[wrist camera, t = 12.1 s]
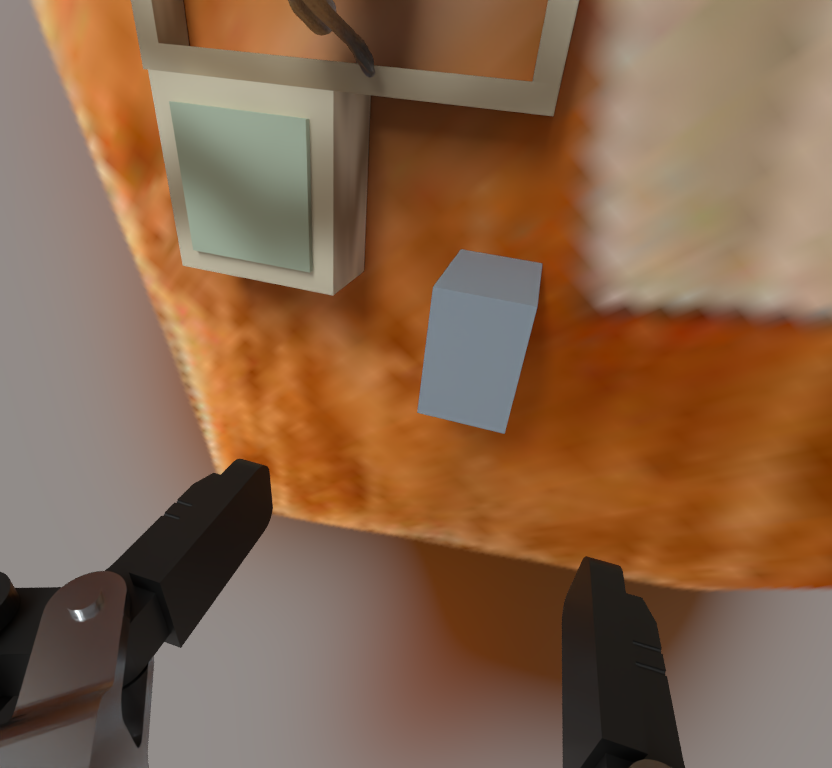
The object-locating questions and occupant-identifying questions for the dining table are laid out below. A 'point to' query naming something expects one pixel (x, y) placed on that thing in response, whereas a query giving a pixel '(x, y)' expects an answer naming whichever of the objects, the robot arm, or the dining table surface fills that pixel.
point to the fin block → (478, 338)
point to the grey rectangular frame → (294, 144)
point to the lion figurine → (333, 28)
